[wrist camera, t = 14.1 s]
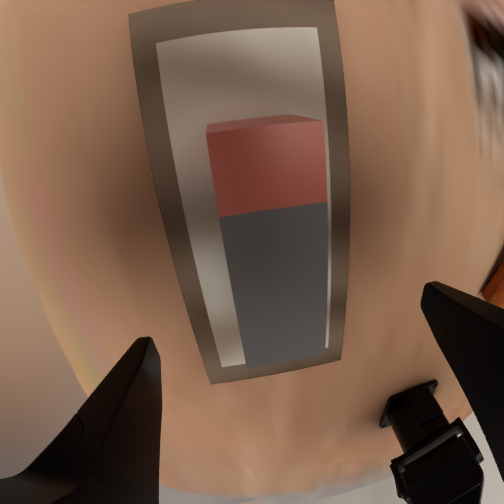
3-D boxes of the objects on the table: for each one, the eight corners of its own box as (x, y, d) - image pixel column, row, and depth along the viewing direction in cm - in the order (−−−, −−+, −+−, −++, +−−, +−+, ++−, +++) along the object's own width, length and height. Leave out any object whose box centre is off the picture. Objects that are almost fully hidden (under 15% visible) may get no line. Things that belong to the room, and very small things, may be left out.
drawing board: (336, 350, 23) (341, 361, 22) (210, 374, 23) (211, 386, 22) (326, 0, 12) (334, -6, 11) (133, 19, 11) (127, 13, 10)
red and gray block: (302, 302, 19) (324, 353, 15) (238, 314, 19) (246, 369, 15) (291, 114, 14) (323, 120, 10) (207, 124, 14) (205, 133, 10)
